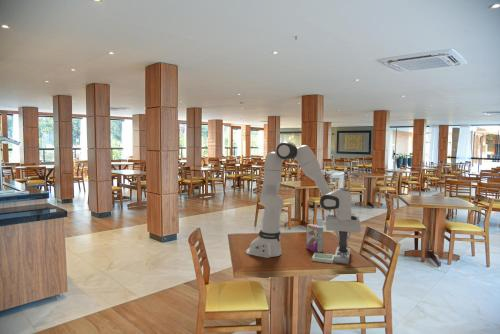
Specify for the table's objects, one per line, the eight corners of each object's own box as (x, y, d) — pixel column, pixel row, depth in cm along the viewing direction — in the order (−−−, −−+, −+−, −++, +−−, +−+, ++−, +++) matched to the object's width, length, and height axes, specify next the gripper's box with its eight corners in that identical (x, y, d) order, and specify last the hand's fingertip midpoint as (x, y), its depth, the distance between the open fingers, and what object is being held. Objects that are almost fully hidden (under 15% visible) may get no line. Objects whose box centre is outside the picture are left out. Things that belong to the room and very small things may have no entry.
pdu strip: (334, 263, 199) (334, 255, 199) (337, 253, 218) (337, 245, 218) (348, 265, 196) (348, 257, 196) (350, 254, 216) (350, 247, 215)
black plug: (338, 245, 202) (338, 232, 201) (339, 243, 206) (339, 230, 206) (347, 246, 200) (347, 232, 199) (347, 243, 205) (347, 230, 204)
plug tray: (312, 261, 201) (312, 257, 201) (314, 256, 211) (314, 252, 211) (332, 264, 198) (333, 260, 197) (334, 258, 207) (334, 254, 207)
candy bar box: (305, 248, 226) (306, 224, 225) (311, 247, 229) (311, 223, 228) (317, 253, 217) (317, 228, 216) (322, 252, 219) (323, 227, 218)
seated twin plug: (338, 255, 210) (338, 242, 209) (339, 252, 214) (339, 240, 214) (346, 255, 208) (347, 243, 208) (347, 253, 213) (347, 240, 212)
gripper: (325, 215, 202) (324, 238, 203) (361, 217, 196) (361, 241, 197) (326, 213, 208) (325, 235, 209) (361, 215, 202) (361, 238, 203)
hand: (343, 238), depth 203 cm, fingers closed on black plug, 4 cm apart
